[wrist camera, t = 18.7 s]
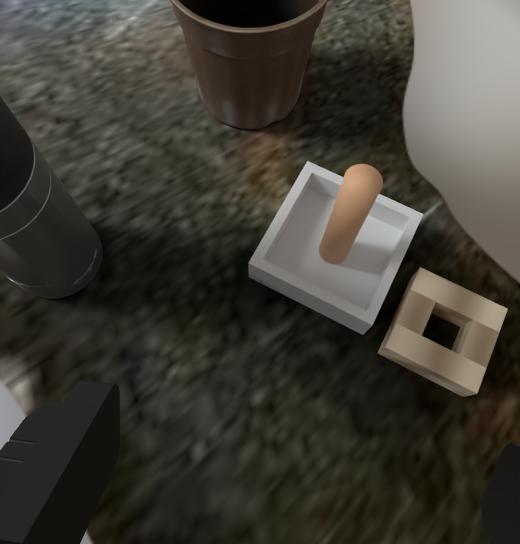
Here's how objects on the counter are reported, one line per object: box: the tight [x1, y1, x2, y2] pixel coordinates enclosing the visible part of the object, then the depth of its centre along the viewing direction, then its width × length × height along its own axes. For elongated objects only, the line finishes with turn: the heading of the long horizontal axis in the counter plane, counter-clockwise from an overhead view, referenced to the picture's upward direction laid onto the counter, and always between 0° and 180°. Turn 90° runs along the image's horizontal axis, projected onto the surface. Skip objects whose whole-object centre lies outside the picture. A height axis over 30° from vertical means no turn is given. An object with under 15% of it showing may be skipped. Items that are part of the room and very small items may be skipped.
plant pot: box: [170, 0, 329, 129], centre depth 51 cm, size 16×16×16 cm
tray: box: [248, 161, 423, 335], centre depth 50 cm, size 13×13×4 cm
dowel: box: [319, 164, 383, 264], centre depth 44 cm, size 3×3×14 cm
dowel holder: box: [378, 267, 508, 397], centre depth 47 cm, size 9×9×3 cm
